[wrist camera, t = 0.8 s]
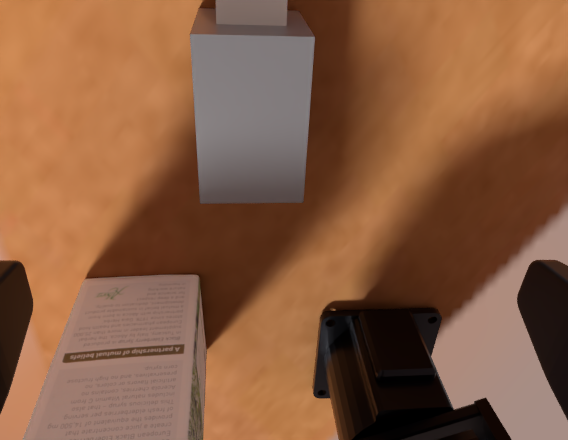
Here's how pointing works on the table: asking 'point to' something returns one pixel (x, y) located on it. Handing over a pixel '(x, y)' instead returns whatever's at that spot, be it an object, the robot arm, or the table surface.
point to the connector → (251, 101)
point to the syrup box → (127, 364)
